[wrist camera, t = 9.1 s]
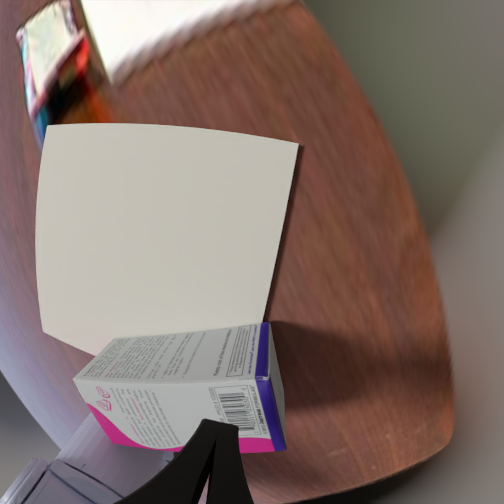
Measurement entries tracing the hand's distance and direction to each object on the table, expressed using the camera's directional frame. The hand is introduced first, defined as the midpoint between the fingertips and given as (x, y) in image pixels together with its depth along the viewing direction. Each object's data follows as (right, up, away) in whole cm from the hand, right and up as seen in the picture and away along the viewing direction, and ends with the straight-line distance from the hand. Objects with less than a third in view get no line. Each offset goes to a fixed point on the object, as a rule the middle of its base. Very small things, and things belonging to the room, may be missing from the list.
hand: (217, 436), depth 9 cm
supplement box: (+3, 0, +5) cm, 6 cm away
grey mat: (-7, +7, +8) cm, 12 cm away
